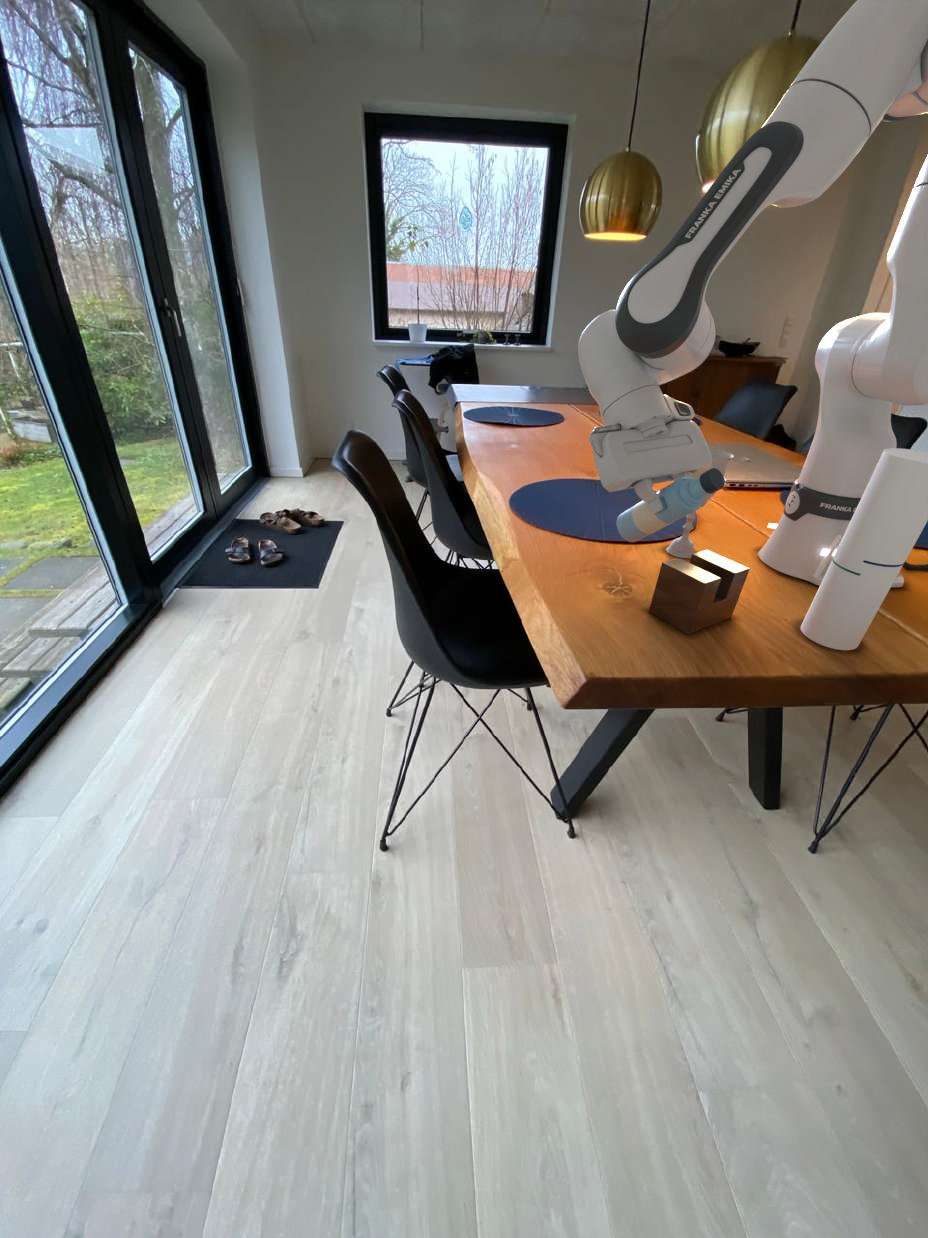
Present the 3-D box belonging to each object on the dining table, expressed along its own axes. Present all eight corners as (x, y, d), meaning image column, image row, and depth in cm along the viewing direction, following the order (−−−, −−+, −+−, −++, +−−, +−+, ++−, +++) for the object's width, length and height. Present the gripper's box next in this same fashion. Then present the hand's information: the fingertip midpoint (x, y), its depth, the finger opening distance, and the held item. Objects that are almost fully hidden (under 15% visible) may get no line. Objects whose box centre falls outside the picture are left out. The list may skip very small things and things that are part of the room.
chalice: (700, 548, 97) (732, 450, 88) (702, 563, 92) (735, 460, 82) (660, 541, 99) (686, 445, 90) (659, 555, 94) (687, 454, 84)
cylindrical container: (859, 656, 69) (964, 468, 56) (799, 638, 72) (885, 456, 59) (857, 632, 74) (954, 455, 61) (801, 616, 78) (882, 445, 64)
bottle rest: (648, 611, 77) (662, 562, 72) (691, 596, 81) (706, 549, 77) (687, 634, 72) (705, 583, 67) (731, 617, 76) (750, 568, 72)
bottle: (606, 536, 83) (628, 444, 75) (629, 530, 86) (652, 441, 78) (680, 575, 73) (714, 475, 65) (703, 568, 76) (738, 470, 68)
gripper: (600, 413, 68) (641, 509, 67) (699, 405, 78) (736, 488, 76) (572, 440, 74) (608, 529, 72) (667, 429, 83) (701, 507, 82)
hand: (675, 508), depth 74 cm, fingers closed on bottle, 5 cm apart
